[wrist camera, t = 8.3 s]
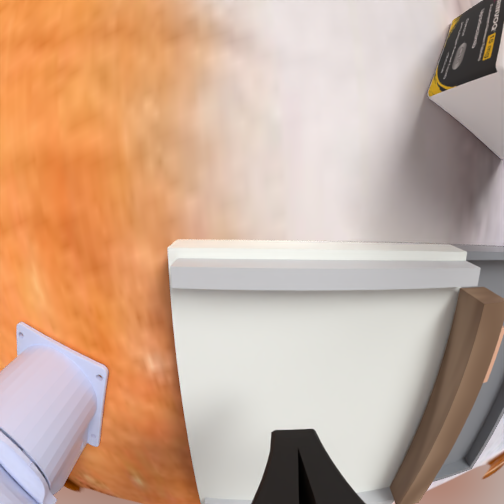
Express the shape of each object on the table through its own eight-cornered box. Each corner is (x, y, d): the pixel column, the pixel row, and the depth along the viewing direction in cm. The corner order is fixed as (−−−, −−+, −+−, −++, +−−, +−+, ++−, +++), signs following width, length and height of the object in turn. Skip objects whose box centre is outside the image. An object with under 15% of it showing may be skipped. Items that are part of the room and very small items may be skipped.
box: (380, 480, 22) (385, 493, 20) (449, 244, 17) (465, 251, 15) (464, 457, 22) (471, 468, 20) (540, 247, 17) (555, 253, 15)
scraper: (389, 486, 19) (397, 508, 17) (459, 287, 15) (484, 304, 13) (410, 482, 19) (418, 502, 17) (484, 286, 15) (508, 301, 13)
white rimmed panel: (203, 488, 22) (199, 518, 19) (177, 239, 17) (158, 255, 14) (380, 480, 22) (389, 507, 19) (449, 244, 17) (482, 258, 14)
